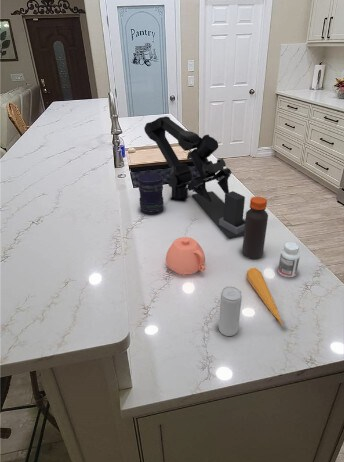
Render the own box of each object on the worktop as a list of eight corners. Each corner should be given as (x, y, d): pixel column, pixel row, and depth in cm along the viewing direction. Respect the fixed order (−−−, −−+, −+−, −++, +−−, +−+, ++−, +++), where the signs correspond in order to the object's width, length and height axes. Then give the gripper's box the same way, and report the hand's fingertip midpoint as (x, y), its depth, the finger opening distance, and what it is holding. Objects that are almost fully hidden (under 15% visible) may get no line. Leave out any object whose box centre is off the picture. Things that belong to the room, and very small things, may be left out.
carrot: (246, 278, 99) (242, 269, 97) (260, 272, 99) (256, 262, 96) (276, 335, 83) (273, 325, 80) (293, 328, 83) (290, 318, 80)
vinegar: (264, 250, 111) (272, 197, 101) (260, 261, 105) (267, 206, 96) (244, 245, 113) (250, 193, 104) (239, 256, 108) (245, 202, 98)
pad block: (234, 231, 120) (237, 199, 113) (222, 224, 124) (224, 193, 118) (242, 228, 122) (245, 196, 116) (230, 221, 126) (232, 191, 120)
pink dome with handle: (184, 250, 112) (184, 224, 107) (217, 268, 103) (218, 241, 98) (158, 266, 104) (156, 239, 99) (190, 287, 95) (190, 259, 90)
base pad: (191, 196, 148) (192, 189, 147) (212, 193, 151) (212, 186, 149) (228, 239, 117) (229, 230, 115) (253, 234, 120) (254, 225, 118)
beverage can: (216, 322, 83) (219, 286, 78) (235, 321, 84) (239, 285, 78) (220, 338, 79) (223, 301, 74) (240, 336, 80) (244, 299, 74)
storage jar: (136, 213, 135) (133, 179, 128) (146, 202, 143) (144, 170, 136) (157, 217, 132) (156, 183, 125) (167, 206, 140) (166, 174, 133)
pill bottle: (287, 264, 104) (292, 239, 99) (300, 274, 99) (305, 248, 95) (274, 269, 102) (278, 243, 97) (286, 280, 97) (291, 253, 93)
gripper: (192, 158, 116) (212, 197, 113) (230, 147, 126) (249, 183, 123) (179, 172, 125) (197, 208, 123) (215, 161, 135) (232, 195, 133)
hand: (219, 198), depth 125 cm, fingers open, 9 cm apart
